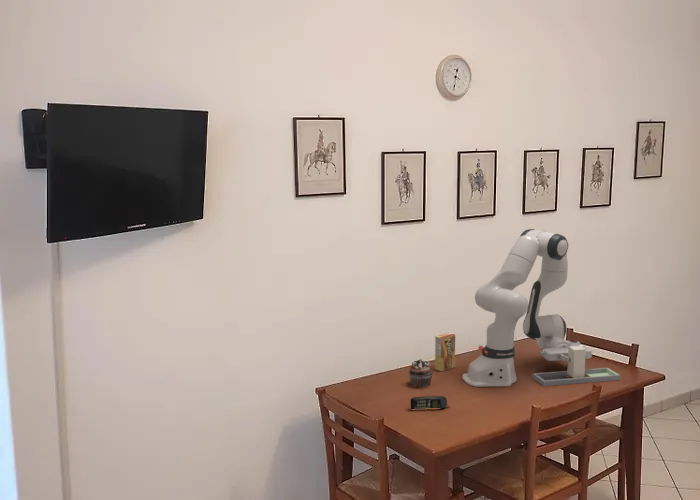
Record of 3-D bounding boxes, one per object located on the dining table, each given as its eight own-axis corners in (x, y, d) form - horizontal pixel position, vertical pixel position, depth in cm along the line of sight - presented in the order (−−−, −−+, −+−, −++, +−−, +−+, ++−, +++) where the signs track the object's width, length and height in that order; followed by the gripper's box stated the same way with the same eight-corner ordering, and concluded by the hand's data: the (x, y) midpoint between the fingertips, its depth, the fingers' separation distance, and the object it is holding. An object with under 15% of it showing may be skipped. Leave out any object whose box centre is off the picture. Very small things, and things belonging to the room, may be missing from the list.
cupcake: (404, 385, 275) (404, 361, 273) (418, 378, 282) (418, 356, 280) (423, 390, 268) (423, 366, 267) (437, 383, 275) (437, 360, 274)
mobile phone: (411, 399, 247) (450, 396, 248) (409, 396, 250) (449, 393, 251) (411, 412, 247) (451, 409, 248) (410, 409, 250) (449, 406, 251)
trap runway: (543, 386, 271) (543, 381, 270) (532, 378, 280) (532, 373, 280) (620, 379, 276) (620, 375, 276) (606, 372, 286) (607, 367, 286)
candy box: (448, 365, 299) (448, 332, 297) (455, 367, 296) (455, 334, 293) (434, 369, 293) (434, 335, 291) (441, 371, 290) (441, 337, 288)
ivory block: (573, 378, 275) (574, 350, 273) (567, 374, 280) (568, 346, 278) (584, 377, 276) (585, 349, 274) (578, 373, 281) (579, 345, 279)
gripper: (538, 344, 288) (553, 353, 275) (582, 341, 292) (598, 350, 278) (537, 358, 289) (552, 368, 276) (581, 355, 293) (598, 365, 279)
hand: (576, 359), depth 277 cm, fingers closed on ivory block, 5 cm apart
